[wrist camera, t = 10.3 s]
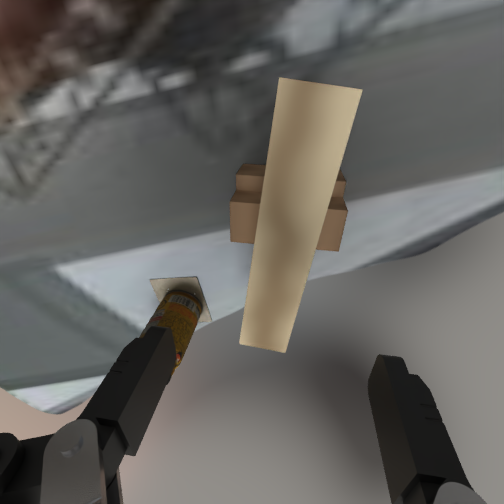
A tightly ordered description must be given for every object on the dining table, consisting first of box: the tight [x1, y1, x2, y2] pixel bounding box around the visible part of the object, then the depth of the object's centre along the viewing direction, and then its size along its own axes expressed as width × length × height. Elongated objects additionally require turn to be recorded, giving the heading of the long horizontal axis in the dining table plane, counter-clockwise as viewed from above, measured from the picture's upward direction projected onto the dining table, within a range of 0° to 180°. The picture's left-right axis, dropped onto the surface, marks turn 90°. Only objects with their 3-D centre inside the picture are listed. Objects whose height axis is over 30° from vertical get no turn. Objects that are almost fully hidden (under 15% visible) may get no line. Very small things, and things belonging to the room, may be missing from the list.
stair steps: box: [230, 164, 348, 251], centre depth 28 cm, size 10×7×7 cm
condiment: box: [139, 277, 212, 385], centre depth 36 cm, size 7×8×12 cm
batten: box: [239, 77, 362, 353], centre depth 23 cm, size 4×22×4 cm, turn 173°
